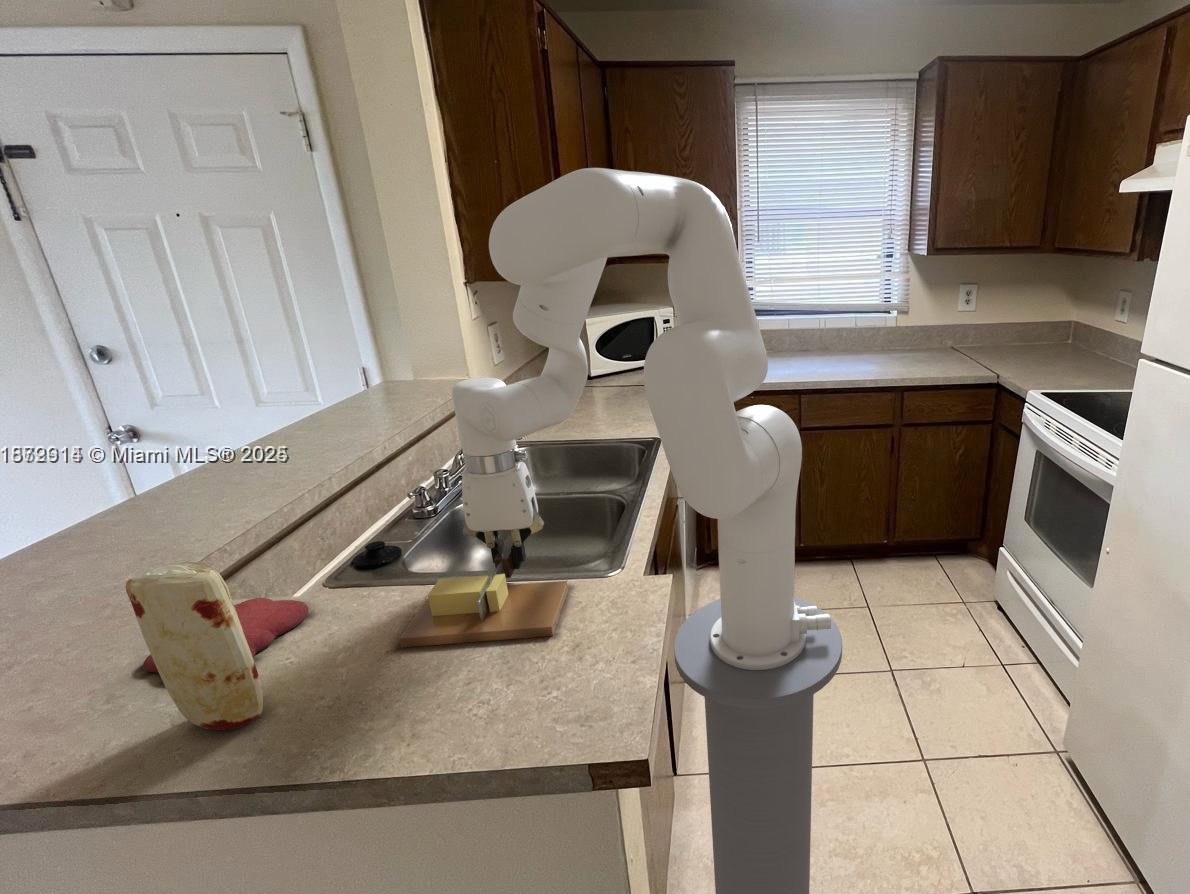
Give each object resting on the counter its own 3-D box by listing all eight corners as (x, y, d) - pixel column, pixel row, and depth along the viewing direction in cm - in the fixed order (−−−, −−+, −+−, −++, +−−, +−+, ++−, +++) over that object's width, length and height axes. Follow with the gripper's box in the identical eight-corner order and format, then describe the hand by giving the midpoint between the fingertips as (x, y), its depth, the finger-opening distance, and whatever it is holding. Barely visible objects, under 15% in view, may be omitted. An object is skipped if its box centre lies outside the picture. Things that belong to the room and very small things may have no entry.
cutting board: (569, 588, 96) (567, 580, 95) (553, 635, 85) (551, 626, 84) (435, 598, 94) (433, 589, 93) (400, 647, 82) (398, 638, 82)
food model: (163, 739, 68) (92, 584, 61) (217, 696, 74) (158, 551, 67) (247, 742, 67) (185, 586, 60) (294, 698, 74) (243, 552, 67)
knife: (511, 553, 103) (508, 535, 102) (523, 553, 103) (520, 535, 102) (474, 620, 85) (469, 600, 84) (489, 619, 85) (485, 599, 84)
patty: (224, 685, 76) (219, 672, 75) (120, 681, 77) (114, 668, 76) (328, 604, 92) (324, 593, 92) (241, 602, 93) (237, 590, 92)
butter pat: (508, 594, 92) (504, 573, 91) (500, 611, 88) (496, 590, 86) (499, 594, 92) (495, 574, 91) (489, 612, 88) (485, 591, 86)
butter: (492, 595, 92) (488, 575, 90) (483, 612, 87) (479, 591, 86) (443, 598, 91) (439, 578, 90) (431, 616, 87) (427, 595, 85)
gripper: (551, 449, 97) (565, 551, 104) (446, 454, 96) (467, 557, 102) (540, 465, 90) (556, 574, 97) (427, 471, 89) (451, 581, 95)
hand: (510, 564), depth 99 cm, fingers closed on knife, 2 cm apart
